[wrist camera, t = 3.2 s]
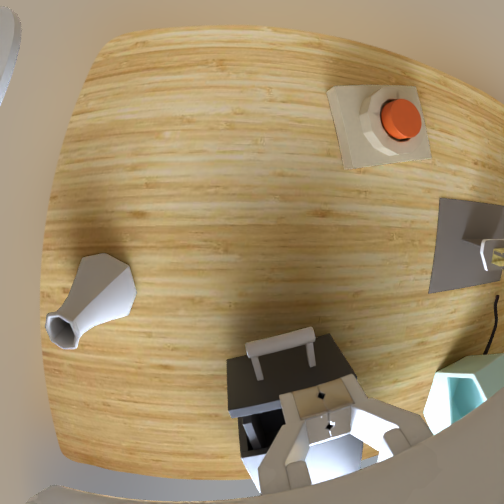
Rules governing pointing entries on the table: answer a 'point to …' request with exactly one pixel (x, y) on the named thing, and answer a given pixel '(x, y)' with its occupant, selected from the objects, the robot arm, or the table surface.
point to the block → (373, 126)
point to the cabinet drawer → (279, 378)
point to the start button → (401, 119)
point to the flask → (92, 299)
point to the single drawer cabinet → (310, 456)
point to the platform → (467, 245)
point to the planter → (463, 388)
